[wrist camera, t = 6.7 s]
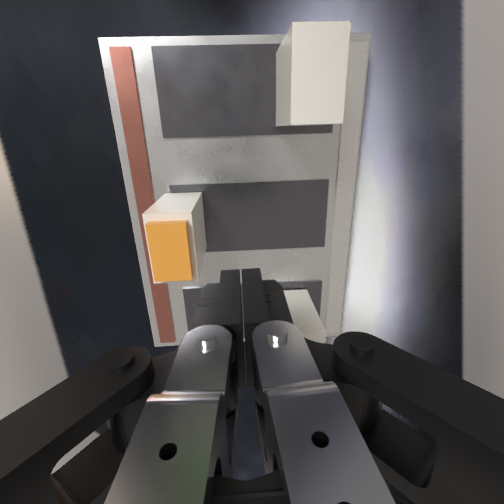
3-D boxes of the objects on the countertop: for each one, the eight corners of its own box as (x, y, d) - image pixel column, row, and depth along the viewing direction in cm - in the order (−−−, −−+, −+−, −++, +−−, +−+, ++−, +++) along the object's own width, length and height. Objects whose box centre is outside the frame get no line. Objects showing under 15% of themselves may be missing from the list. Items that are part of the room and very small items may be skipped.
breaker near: (275, 53, 18) (292, 22, 13) (317, 52, 18) (350, 21, 13) (275, 126, 19) (290, 124, 14) (314, 125, 19) (342, 123, 14)
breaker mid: (164, 193, 20) (138, 217, 15) (201, 191, 21) (189, 215, 15) (172, 248, 22) (151, 288, 16) (206, 246, 22) (197, 286, 16)
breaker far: (275, 290, 24) (286, 334, 19) (306, 289, 24) (326, 332, 19) (275, 332, 25) (285, 383, 20) (304, 331, 25) (322, 381, 20)
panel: (111, 46, 19) (96, 36, 17) (358, 42, 20) (372, 31, 18) (160, 331, 27) (154, 348, 25) (333, 322, 28) (341, 337, 26)
